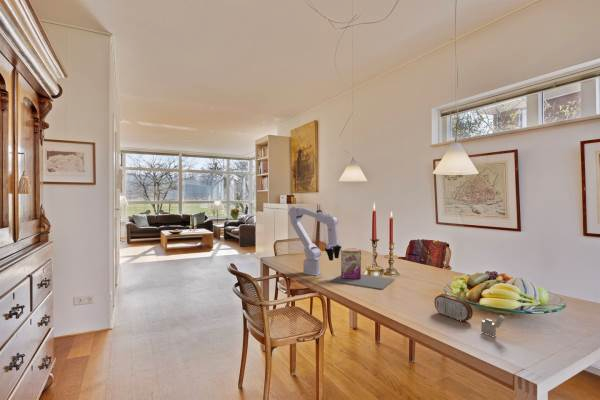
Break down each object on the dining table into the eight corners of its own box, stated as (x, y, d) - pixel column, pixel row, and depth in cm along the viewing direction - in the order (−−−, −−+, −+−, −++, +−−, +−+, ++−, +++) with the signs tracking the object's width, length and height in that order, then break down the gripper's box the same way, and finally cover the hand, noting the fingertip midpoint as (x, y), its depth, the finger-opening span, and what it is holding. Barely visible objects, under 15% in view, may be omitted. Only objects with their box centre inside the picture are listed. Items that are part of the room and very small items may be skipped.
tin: (473, 323, 121) (473, 301, 121) (468, 325, 120) (468, 302, 120) (437, 311, 134) (437, 291, 134) (433, 312, 133) (433, 292, 132)
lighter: (481, 333, 113) (481, 310, 113) (483, 331, 114) (483, 309, 114) (502, 340, 107) (502, 317, 107) (505, 339, 108) (505, 315, 108)
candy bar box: (341, 279, 183) (341, 250, 183) (341, 276, 188) (340, 249, 188) (361, 279, 182) (361, 250, 182) (360, 277, 187) (360, 249, 187)
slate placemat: (330, 281, 180) (330, 280, 180) (346, 273, 199) (346, 272, 199) (382, 289, 164) (382, 288, 164) (394, 279, 183) (394, 278, 183)
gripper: (333, 238, 183) (334, 261, 182) (343, 235, 195) (345, 257, 195) (322, 237, 186) (323, 261, 186) (333, 235, 199) (334, 257, 198)
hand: (333, 259), depth 191 cm, fingers open, 7 cm apart
